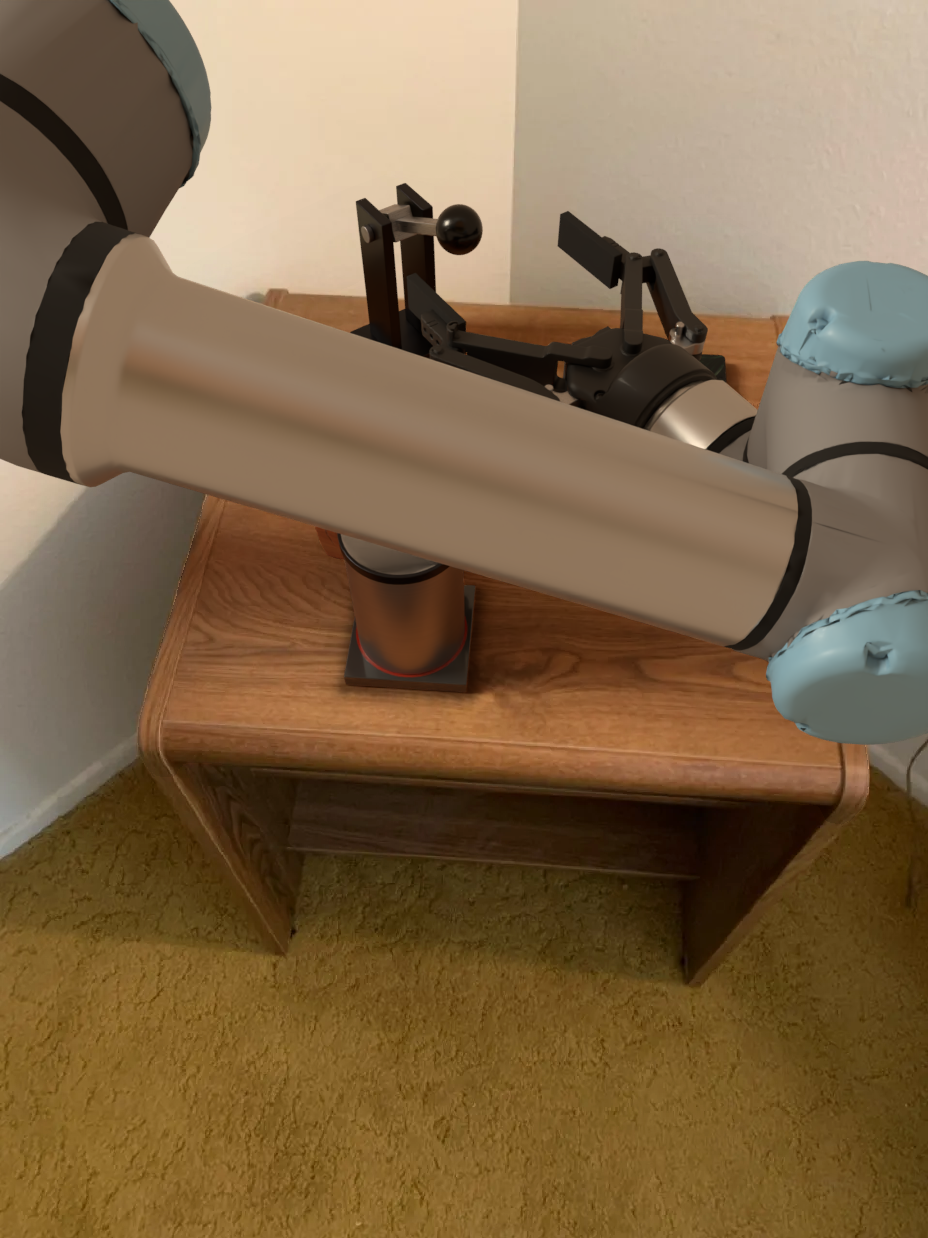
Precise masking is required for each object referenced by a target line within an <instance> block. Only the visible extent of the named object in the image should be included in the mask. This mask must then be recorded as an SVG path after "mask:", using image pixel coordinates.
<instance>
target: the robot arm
mask: <svg viewBox="0 0 928 1238" xmlns="http://www.w3.org/2000/svg"><path fill="white" fill-rule="evenodd" d="M211 94H212V93H211V86H210V82H209V78H208V73H207V69H206V66H205V63H204V61H203V57H202V55H201V53H200V50H199V48H198V45H197V43H196V41H195V39H194V37H193V35H192V33H191V31H190V30H189V28H188V26H187V25H186V23H185V21H184V19H183V18H182V16H181V14H180V13H179V11H178V10H177V8H176V7H175V6H174V5H173V3H172V2H171V1H170V0H0V460H2V461H5V462H7V463H9V464H12V465H13V466H17V467H20V468H23V469H26V470H30V471H33V472H36V473H39V474H43V475H45V476H49V477H52V478H55V479H59V480H62V481H65V482H69V483H73V484H77V485H80V486H84V487H88V488H96V487H99V486H100V485H102V484H105V483H107V482H109V481H111V480H112V479H114V478H116V477H118V476H120V475H122V474H125V473H132V474H137V475H139V476H143V477H146V478H150V479H152V480H153V479H154V480H156V481H160V482H163V483H167V484H170V485H173V486H176V487H180V488H182V489H183V488H184V489H187V490H191V491H194V492H196V493H201V494H204V495H207V496H210V497H214V498H217V499H220V500H224V501H228V502H231V503H235V504H238V505H241V506H244V507H248V508H251V509H255V510H258V511H262V512H265V513H267V514H272V515H274V516H278V517H282V518H286V519H289V520H292V521H295V522H299V523H301V524H306V525H308V526H312V527H314V528H315V527H319V528H322V529H326V530H329V531H332V532H336V533H339V534H343V535H346V536H349V537H353V538H356V539H360V540H363V541H366V542H370V543H373V544H377V545H380V546H383V547H387V548H390V549H394V550H397V551H400V552H404V553H407V554H411V555H414V556H417V557H421V558H424V559H428V560H431V561H434V562H438V563H441V564H445V565H448V566H451V567H455V568H458V569H462V570H464V572H469V573H472V574H475V575H478V576H482V577H486V578H489V579H493V580H495V581H499V582H501V583H506V584H510V585H513V586H516V587H519V588H523V589H526V590H530V591H533V592H537V593H540V594H543V595H547V596H550V597H553V598H557V599H559V600H564V601H567V602H571V603H574V604H576V605H581V606H584V607H588V608H591V609H594V610H597V611H600V612H605V613H608V614H611V615H613V616H614V615H615V616H618V617H621V618H624V619H629V620H630V621H631V620H632V621H635V622H638V623H642V624H646V625H649V626H652V627H656V628H659V629H662V630H666V631H669V632H672V633H676V634H680V635H683V636H686V637H689V638H692V639H697V640H700V641H703V642H706V643H710V644H713V645H715V646H720V647H724V648H726V649H731V650H733V651H734V652H737V653H741V654H744V655H747V656H751V657H755V658H758V659H761V660H764V661H766V662H767V663H768V664H767V666H766V671H765V678H766V680H767V681H768V682H770V687H771V698H772V702H773V705H774V707H775V709H776V711H777V712H778V713H779V714H780V715H781V716H782V718H783V719H784V720H787V721H790V722H792V723H794V725H795V726H796V728H797V729H798V730H799V731H801V732H802V733H805V734H806V735H809V736H810V737H814V738H817V739H820V740H822V741H827V742H831V743H837V744H847V745H860V746H872V745H873V746H874V745H885V744H893V743H899V742H903V741H908V740H912V739H915V738H918V737H921V736H924V735H927V734H928V274H925V273H923V272H922V271H920V270H916V269H914V268H911V267H909V266H906V265H902V264H900V263H899V264H898V263H894V262H877V261H870V260H855V261H849V262H844V263H839V264H836V265H834V266H831V267H829V268H827V269H824V270H822V271H821V272H818V273H817V274H816V275H814V276H813V277H812V278H811V279H810V280H809V281H808V282H807V283H806V284H805V285H804V286H803V288H802V289H801V290H800V292H799V294H798V296H797V298H796V301H795V303H794V305H793V308H792V310H791V312H790V314H789V317H788V319H787V321H786V323H785V326H784V328H783V330H782V331H781V333H779V334H778V336H777V339H776V346H777V350H776V352H775V355H774V358H773V362H772V363H771V367H770V371H769V373H768V376H767V379H766V382H765V386H764V389H763V392H762V396H761V398H760V401H759V405H758V407H755V406H754V405H753V404H752V403H751V402H749V400H747V399H745V397H744V396H742V395H741V394H740V393H739V392H737V390H735V389H734V388H733V387H732V386H731V385H729V384H728V382H727V383H725V382H724V381H723V380H717V377H716V376H715V374H714V373H713V372H712V371H710V370H709V369H708V368H707V367H706V366H704V365H703V364H702V363H701V362H699V361H700V359H701V355H702V354H703V351H704V348H705V347H704V346H705V343H706V339H707V336H708V332H709V328H708V327H707V325H706V324H705V323H704V322H702V320H700V318H699V317H698V316H696V314H695V313H693V311H692V309H691V306H690V304H689V301H688V299H687V297H686V294H685V292H684V289H683V287H682V284H681V282H680V280H679V278H678V275H677V273H676V270H675V268H674V264H673V263H672V260H671V258H670V256H669V253H668V252H667V251H666V250H665V249H664V248H661V247H659V248H653V249H652V250H651V251H650V255H644V256H643V255H642V254H641V253H639V252H629V251H628V250H627V249H626V248H624V247H623V246H622V245H620V244H619V243H618V242H617V241H615V240H614V239H613V238H612V237H609V236H606V235H603V236H601V235H599V233H597V232H596V231H595V230H593V229H592V228H590V226H588V225H587V224H586V223H584V222H583V221H582V220H581V219H579V218H578V217H577V216H576V215H574V214H573V213H571V212H570V211H569V210H567V211H564V212H561V213H559V224H558V233H557V234H558V236H557V247H558V248H559V249H560V250H561V251H563V253H565V254H566V255H567V256H569V257H570V258H571V259H572V260H573V261H575V262H576V263H577V264H578V265H580V266H581V267H582V269H585V270H586V271H587V272H588V273H589V274H590V275H592V276H593V277H594V278H596V279H597V280H598V281H599V282H600V283H601V284H603V285H604V286H605V287H607V289H609V290H612V289H614V288H616V287H618V286H619V281H621V286H620V292H619V295H620V318H619V321H620V322H619V327H613V328H612V327H610V326H608V325H607V326H605V327H603V328H601V329H598V330H597V331H596V332H595V333H594V334H593V335H591V336H586V337H582V338H579V339H577V340H574V341H573V342H571V344H570V343H564V342H560V341H552V342H551V341H550V342H549V343H548V345H542V344H537V343H531V342H525V341H520V340H515V339H509V338H503V337H497V336H492V335H488V334H487V335H486V334H482V333H475V332H470V331H467V320H465V319H464V317H462V315H460V314H459V313H458V312H457V311H456V310H455V309H454V308H453V307H452V306H451V305H450V304H449V303H448V302H447V301H446V300H445V299H444V298H443V297H442V296H441V295H439V294H438V293H437V291H436V292H435V291H434V290H433V289H432V288H431V287H430V286H429V285H428V284H427V283H426V282H425V281H423V280H422V279H421V278H420V277H419V276H418V275H417V274H416V273H414V274H412V275H409V276H407V290H408V305H409V309H410V310H411V311H412V312H413V313H414V314H415V315H416V316H417V317H418V318H419V319H420V320H421V327H422V334H423V336H424V337H425V338H426V339H427V340H428V341H429V342H430V343H431V344H432V345H433V347H432V348H430V350H429V352H430V359H428V358H425V357H422V356H419V355H416V354H413V353H410V352H407V351H404V350H401V349H398V348H395V347H392V346H389V345H385V344H382V343H379V342H376V341H373V340H370V339H367V338H364V337H361V336H358V335H355V334H352V333H350V332H349V331H345V330H342V329H339V328H336V327H334V326H330V325H328V324H324V323H321V322H318V321H315V320H312V319H309V318H306V317H303V316H300V315H296V314H294V313H290V312H288V311H284V310H282V309H279V308H276V307H272V306H270V305H266V304H264V303H261V302H257V301H254V300H251V299H248V298H245V297H242V296H239V295H236V294H233V293H230V292H226V291H224V290H221V289H217V288H214V287H211V286H208V285H206V284H202V283H199V282H196V281H193V280H189V279H187V278H184V277H180V276H179V275H177V274H175V272H173V269H172V268H171V267H170V265H169V263H168V261H167V260H166V257H165V256H164V254H163V253H162V251H161V249H160V247H159V246H158V244H157V243H156V242H155V240H153V239H152V238H151V236H152V235H153V232H154V231H155V229H156V227H157V226H158V224H159V222H160V221H161V219H162V217H163V215H164V214H165V212H166V210H167V209H168V207H169V205H170V204H171V202H172V201H173V199H174V198H175V195H176V194H177V193H178V191H179V189H181V188H183V187H185V186H186V184H187V183H188V182H189V181H190V180H191V179H192V178H193V177H194V176H195V173H196V170H197V168H198V166H199V164H200V160H201V153H202V151H203V149H204V146H205V144H206V142H207V140H208V136H209V133H210V129H211V123H212V122H211V121H212V100H211V97H212V96H211ZM643 284H646V286H647V290H648V292H649V294H650V297H651V299H652V302H653V305H654V307H655V310H656V313H657V315H658V318H659V320H660V323H661V326H662V329H663V330H664V334H665V337H666V338H664V337H661V336H657V335H654V334H653V335H652V334H648V333H644V309H643ZM559 362H563V363H564V362H566V364H565V378H563V377H560V376H559V375H558V368H559V367H558V366H559Z"/></svg>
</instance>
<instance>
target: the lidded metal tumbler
mask: <svg viewBox="0 0 928 1238" xmlns="http://www.w3.org/2000/svg"><path fill="white" fill-rule="evenodd" d="M337 537H338V542H339V546H340V550H341V553H342V555H343V557H344V560H343V561H344V566H345V570H346V577H347V582H348V587H349V592H350V593H349V594H350V598H351V603H352V609H353V613H354V617H355V620H356V625H357V630H358V636H359V640H360V644H361V646H362V649H363V650H364V652H365V654H366V655H367V656H368V657H369V659H370V660H372V661H373V662H374V663H375V664H377V665H378V666H379V667H381V668H383V669H385V670H388V671H390V672H394V673H398V674H406V675H413V674H421V673H426V672H429V671H432V670H434V669H437V668H439V667H440V666H442V665H444V664H445V663H446V662H448V661H449V660H450V659H451V658H452V657H453V656H454V655H455V654H456V652H457V651H458V649H459V648H460V646H461V644H462V641H463V638H464V632H465V616H464V585H465V570H462V569H458V568H455V567H451V566H448V565H445V564H441V563H438V562H434V561H431V560H428V559H424V558H421V557H417V556H414V555H411V554H407V553H404V552H400V551H397V550H394V549H390V548H387V547H383V546H380V545H377V544H373V543H370V542H366V541H363V540H360V539H356V538H353V537H349V536H346V535H343V534H339V533H337Z"/></svg>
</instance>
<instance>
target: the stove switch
mask: <svg viewBox="0 0 928 1238" xmlns="http://www.w3.org/2000/svg"><path fill="white" fill-rule="evenodd" d="M395 190H396V191H395V192H396V202H397V203H396V204H399V205H410V208H411V212H412V216H413V217H422V218H433V219H434V208H433V207H434V206H433V205H432V204H431V203H430V202H428V200H426V199H425V198H424V197H422V196H421V194H419V193H418V192H417V191H415V189H414V188H412V187H411V186H410V185H409V184H408V183H406V182H403V183H401V184H398V185H395ZM355 208H356V216H357V226H358V235H359V244H360V252H361V260H362V269H363V271H362V272H363V280H364V288H365V299H366V306H367V315H368V323H367V324H365V325H363V326H360V327H358V328H356V329H353V330H351V331H350V332H349V333H352V334H355V335H358V336H361V337H364V338H367V339H370V340H373V341H376V342H379V343H382V344H385V345H389V346H392V347H395V348H398V349H401V350H404V351H407V352H410V353H413V354H416V355H419V356H422V357H425V358H428V359H430V352H429V350H430V348H432V347H433V345H432V344H431V343H430V342H429V341H428V340H427V339H426V338H425V337H424V336H423V334H422V327H421V320H420V319H419V318H418V317H417V316H416V315H415V314H414V313H413V312H412V311H411V310H410V309H409V305H408V290H407V276H409V275H412V274H414V273H416V274H417V275H418V276H419V277H420V278H421V279H422V280H423V281H425V282H426V283H427V284H428V285H429V286H430V287H431V288H432V289H433V290H434V291H435V292H436V293H437V281H436V279H437V278H436V277H437V276H436V261H435V260H436V255H435V236H429V235H421V234H416V235H414V236H411V237H409V238H406V239H404V240H401V241H399V243H400V259H401V260H400V261H401V271H402V273H401V274H402V287H403V299H404V301H403V302H404V308H403V309H401V310H400V308H399V307H400V306H399V305H400V304H399V295H398V283H397V282H398V279H397V270H396V268H397V267H396V257H395V242H393V231H392V222H391V221H390V220H389V219H388V218H387V217H386V216H385V215H383V214H382V213H381V212H380V211H379V210H380V209H378V208H377V207H376V206H375V205H374V204H373V203H372V202H371V201H370V200H368V198H366V197H362V198H360V199H358V200H356V201H355Z"/></svg>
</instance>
